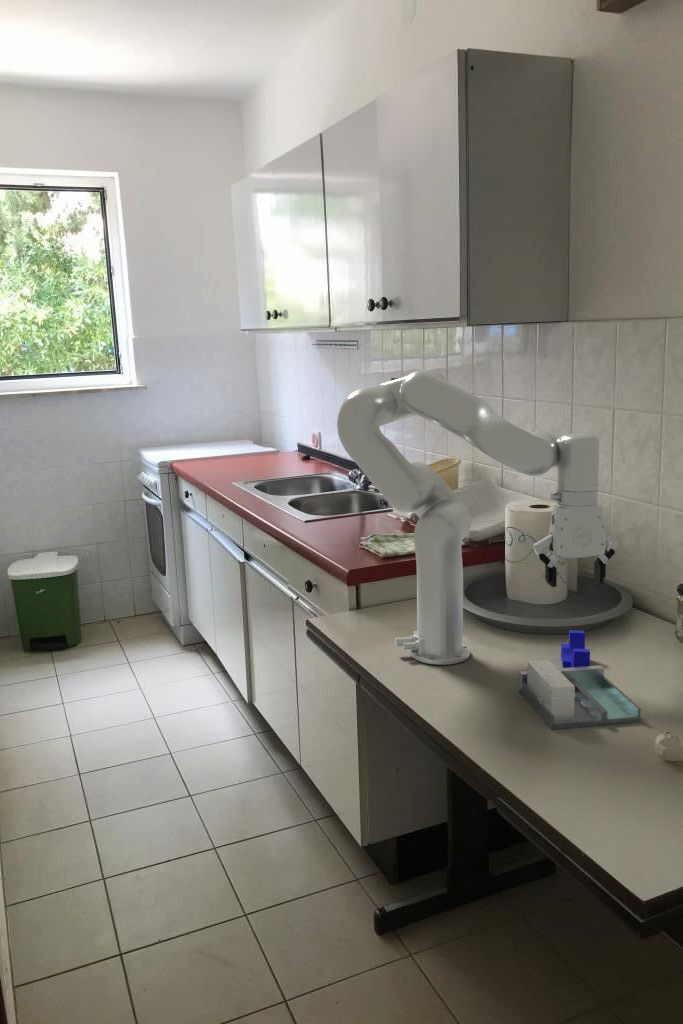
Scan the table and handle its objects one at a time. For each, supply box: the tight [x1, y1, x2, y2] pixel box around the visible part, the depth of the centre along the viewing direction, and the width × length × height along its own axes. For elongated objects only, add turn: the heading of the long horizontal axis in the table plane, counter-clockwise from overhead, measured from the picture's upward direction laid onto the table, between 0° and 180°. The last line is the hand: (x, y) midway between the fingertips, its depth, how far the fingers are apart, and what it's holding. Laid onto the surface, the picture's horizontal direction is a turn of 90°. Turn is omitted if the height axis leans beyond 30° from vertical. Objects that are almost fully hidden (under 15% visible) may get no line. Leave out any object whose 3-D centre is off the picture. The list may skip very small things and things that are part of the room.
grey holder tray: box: [518, 659, 642, 731], centre depth 150 cm, size 16×16×7 cm
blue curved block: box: [560, 629, 591, 668], centre depth 168 cm, size 12×4×6 cm, turn 169°
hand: (575, 583), depth 165 cm, fingers open, 9 cm apart
